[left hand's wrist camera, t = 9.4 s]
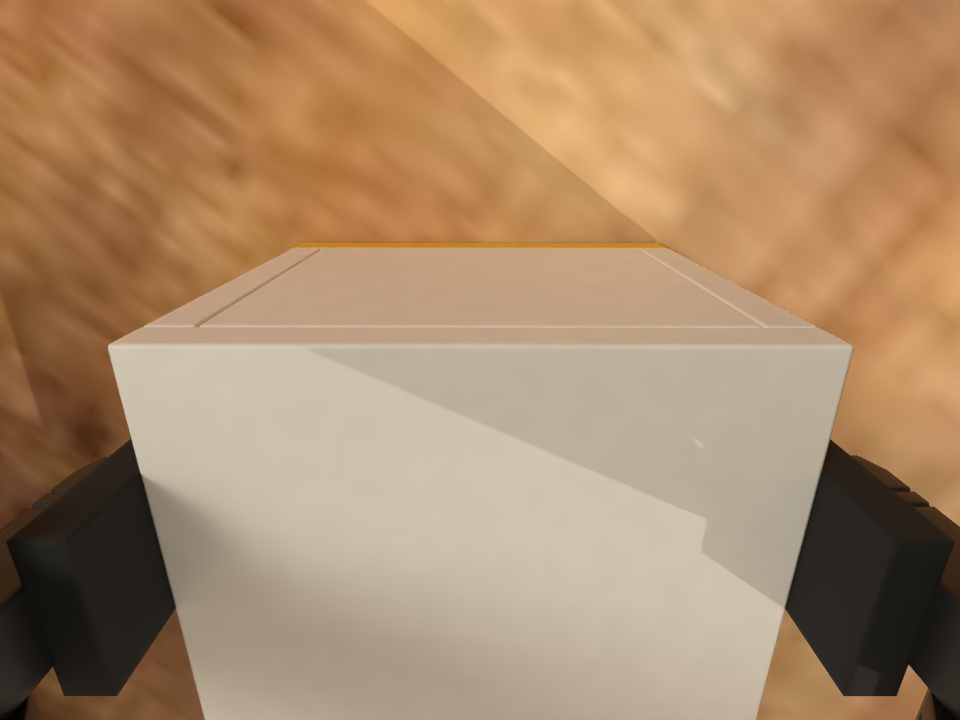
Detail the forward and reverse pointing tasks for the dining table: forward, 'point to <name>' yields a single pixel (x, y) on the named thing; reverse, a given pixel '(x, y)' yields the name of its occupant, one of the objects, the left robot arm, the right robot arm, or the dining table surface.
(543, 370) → the cabinet
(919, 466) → the dining table surface
